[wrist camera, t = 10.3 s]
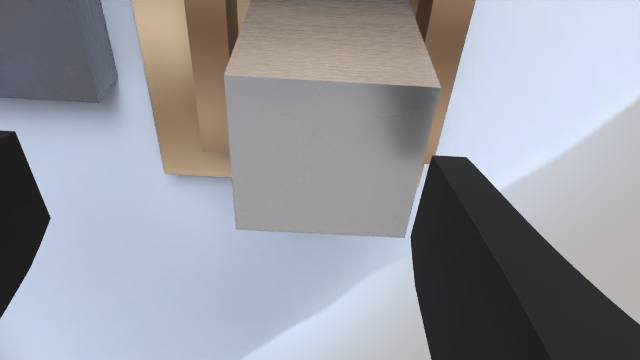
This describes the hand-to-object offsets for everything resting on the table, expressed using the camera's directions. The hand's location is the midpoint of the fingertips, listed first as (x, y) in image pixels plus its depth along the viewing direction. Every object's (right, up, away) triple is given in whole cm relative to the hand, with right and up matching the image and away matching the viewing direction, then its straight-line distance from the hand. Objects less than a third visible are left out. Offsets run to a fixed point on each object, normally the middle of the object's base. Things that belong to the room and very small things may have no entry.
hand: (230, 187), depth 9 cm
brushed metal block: (+2, +5, +7) cm, 9 cm away
